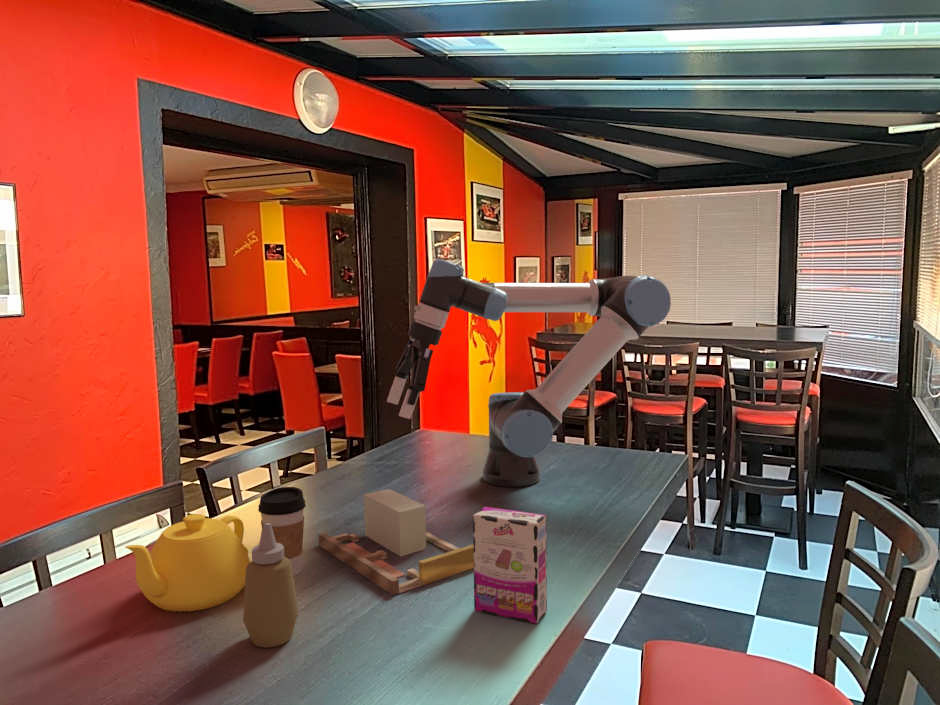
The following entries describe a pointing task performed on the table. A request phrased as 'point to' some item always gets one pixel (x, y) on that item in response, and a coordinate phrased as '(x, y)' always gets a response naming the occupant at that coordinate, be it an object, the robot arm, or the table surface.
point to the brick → (395, 521)
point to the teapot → (193, 564)
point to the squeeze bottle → (269, 593)
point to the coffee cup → (285, 521)
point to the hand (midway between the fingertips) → (398, 410)
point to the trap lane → (388, 575)
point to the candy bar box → (510, 564)
